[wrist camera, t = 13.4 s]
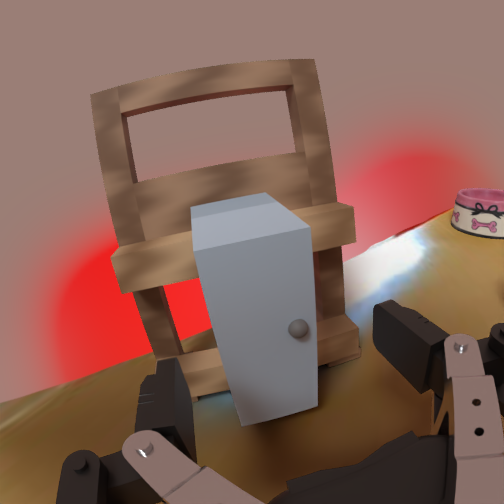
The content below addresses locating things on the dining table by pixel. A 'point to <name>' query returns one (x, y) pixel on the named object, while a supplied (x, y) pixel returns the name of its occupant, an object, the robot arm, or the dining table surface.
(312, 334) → the cabinet
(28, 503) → the dining table surface
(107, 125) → the rack
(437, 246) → the dining table surface
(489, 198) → the dog bowl
